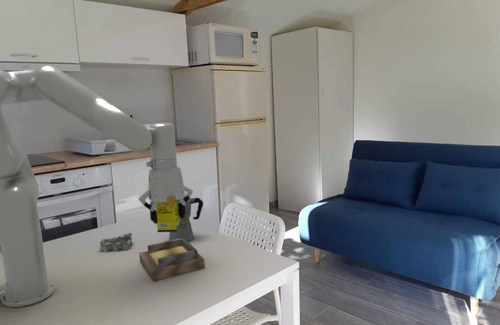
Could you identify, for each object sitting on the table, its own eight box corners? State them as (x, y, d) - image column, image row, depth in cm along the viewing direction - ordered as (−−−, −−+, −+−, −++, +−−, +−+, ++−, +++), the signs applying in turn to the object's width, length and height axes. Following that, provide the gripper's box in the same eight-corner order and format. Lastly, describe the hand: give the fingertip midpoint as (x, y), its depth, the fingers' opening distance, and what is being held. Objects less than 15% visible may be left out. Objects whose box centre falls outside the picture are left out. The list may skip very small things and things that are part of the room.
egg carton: (134, 243, 138) (133, 232, 137) (129, 251, 131) (128, 239, 130) (104, 244, 137) (103, 234, 136) (98, 252, 130) (97, 241, 129)
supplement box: (176, 232, 113) (174, 197, 111) (157, 232, 113) (154, 197, 111) (180, 225, 119) (178, 192, 117) (162, 226, 119) (159, 192, 117)
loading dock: (153, 281, 107) (151, 263, 106) (140, 261, 121) (138, 245, 120) (204, 267, 115) (203, 251, 114) (186, 250, 129) (185, 235, 128)
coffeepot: (161, 244, 135) (157, 196, 132) (166, 235, 144) (162, 189, 141) (204, 242, 135) (201, 194, 132) (206, 233, 145) (203, 188, 141)
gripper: (137, 169, 105) (143, 229, 108) (195, 162, 113) (199, 217, 116) (131, 165, 112) (137, 222, 115) (187, 159, 120) (190, 211, 123)
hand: (168, 219), depth 115 cm, fingers closed on supplement box, 8 cm apart
